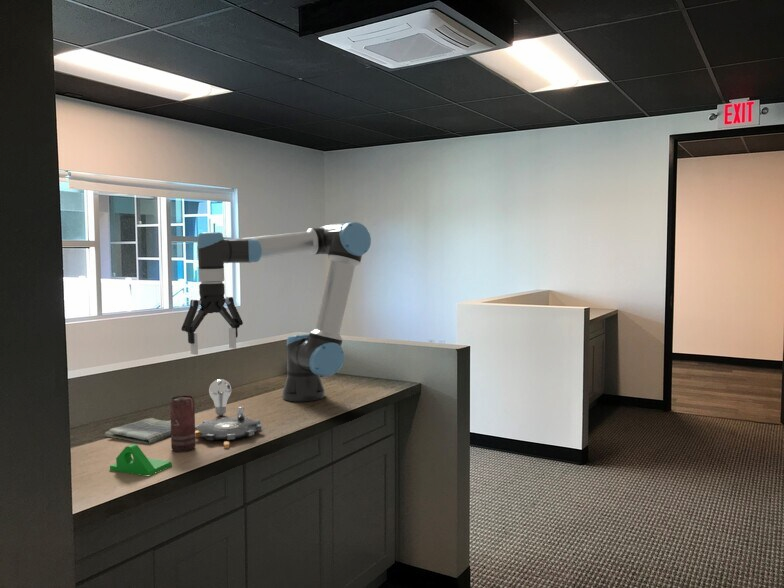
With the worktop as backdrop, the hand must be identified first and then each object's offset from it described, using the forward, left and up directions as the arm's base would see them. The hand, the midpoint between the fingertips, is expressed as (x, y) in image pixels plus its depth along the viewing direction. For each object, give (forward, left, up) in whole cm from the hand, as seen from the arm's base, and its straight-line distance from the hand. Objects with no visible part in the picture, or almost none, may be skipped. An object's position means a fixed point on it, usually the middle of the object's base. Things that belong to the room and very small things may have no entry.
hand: (214, 351), depth 192 cm
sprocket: (-3, +16, -21) cm, 26 cm away
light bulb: (-2, -6, -22) cm, 23 cm away
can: (+9, +26, -22) cm, 35 cm away
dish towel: (+19, +6, -23) cm, 30 cm away
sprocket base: (-3, +16, -22) cm, 27 cm away
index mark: (-2, +27, -22) cm, 35 cm away
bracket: (+19, +38, -23) cm, 48 cm away
